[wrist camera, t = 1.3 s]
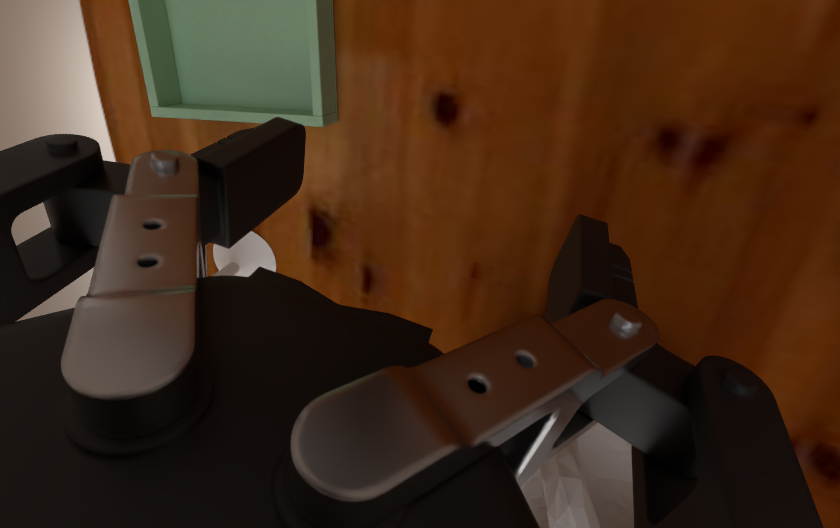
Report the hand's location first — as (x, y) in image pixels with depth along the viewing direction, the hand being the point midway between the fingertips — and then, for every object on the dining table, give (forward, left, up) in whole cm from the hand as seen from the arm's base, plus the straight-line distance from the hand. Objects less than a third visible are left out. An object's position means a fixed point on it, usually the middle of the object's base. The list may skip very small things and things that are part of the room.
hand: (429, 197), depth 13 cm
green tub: (-7, -19, -25) cm, 32 cm away
